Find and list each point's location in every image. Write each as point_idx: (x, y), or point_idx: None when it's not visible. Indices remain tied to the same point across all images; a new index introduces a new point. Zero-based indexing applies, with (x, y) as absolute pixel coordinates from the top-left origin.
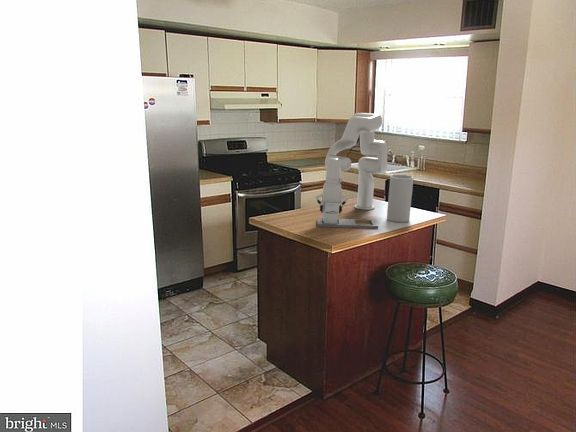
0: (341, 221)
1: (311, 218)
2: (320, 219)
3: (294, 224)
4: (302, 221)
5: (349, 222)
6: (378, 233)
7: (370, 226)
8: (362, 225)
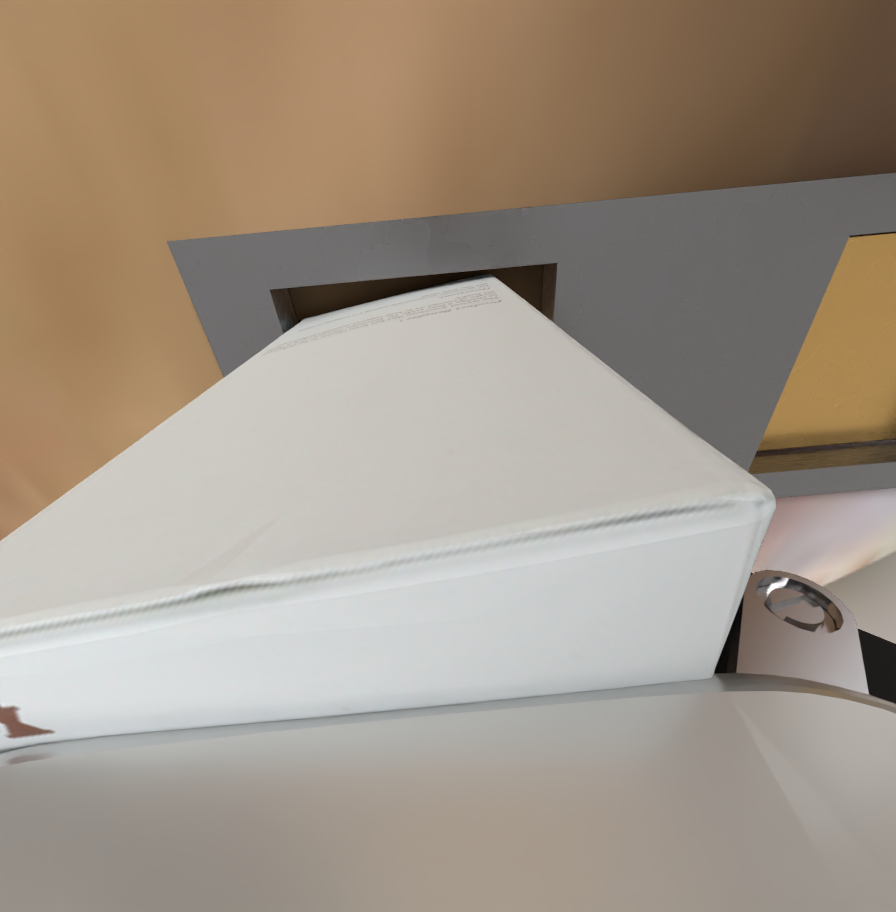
0: None
1: (13, 79)
2: (261, 347)
3: (21, 494)
4: (12, 348)
5: (692, 409)
6: (847, 568)
7: (888, 483)
8: (805, 493)
